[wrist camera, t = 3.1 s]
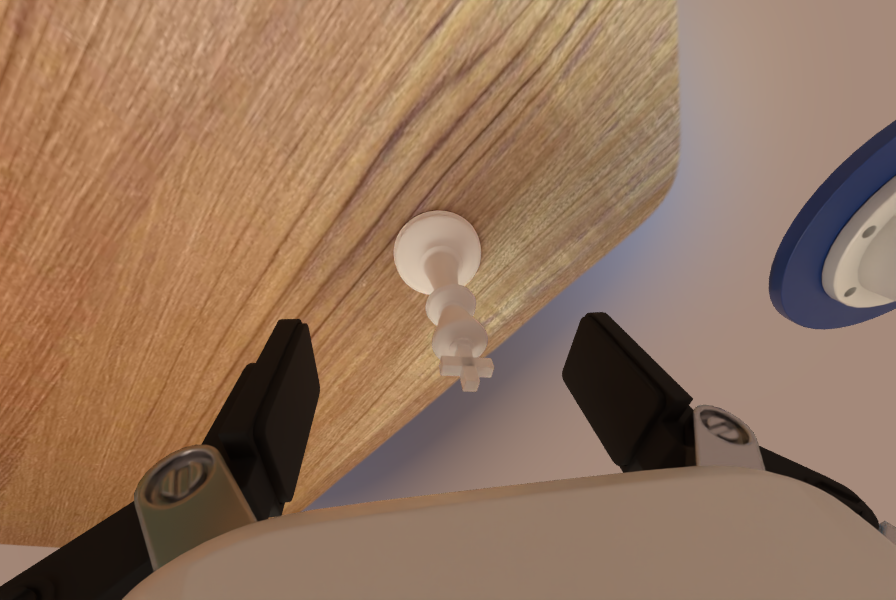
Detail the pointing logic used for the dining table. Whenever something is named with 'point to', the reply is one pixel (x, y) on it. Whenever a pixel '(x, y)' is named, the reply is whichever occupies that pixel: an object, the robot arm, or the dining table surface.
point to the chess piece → (446, 289)
